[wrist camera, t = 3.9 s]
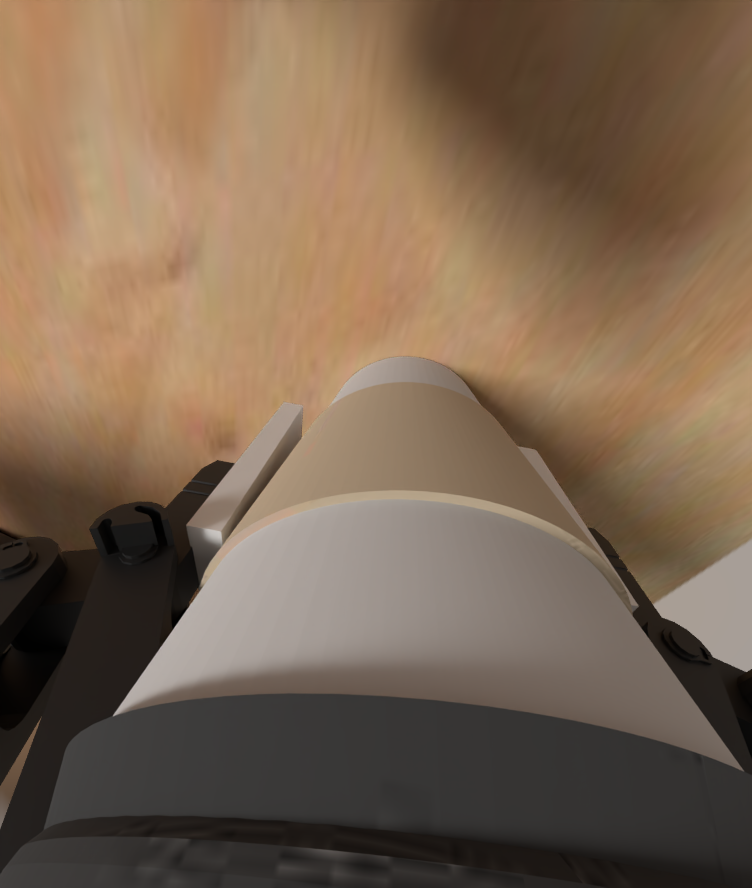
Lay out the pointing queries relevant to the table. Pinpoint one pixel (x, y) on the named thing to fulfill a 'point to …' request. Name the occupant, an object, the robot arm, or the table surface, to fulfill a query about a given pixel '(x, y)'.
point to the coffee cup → (401, 690)
